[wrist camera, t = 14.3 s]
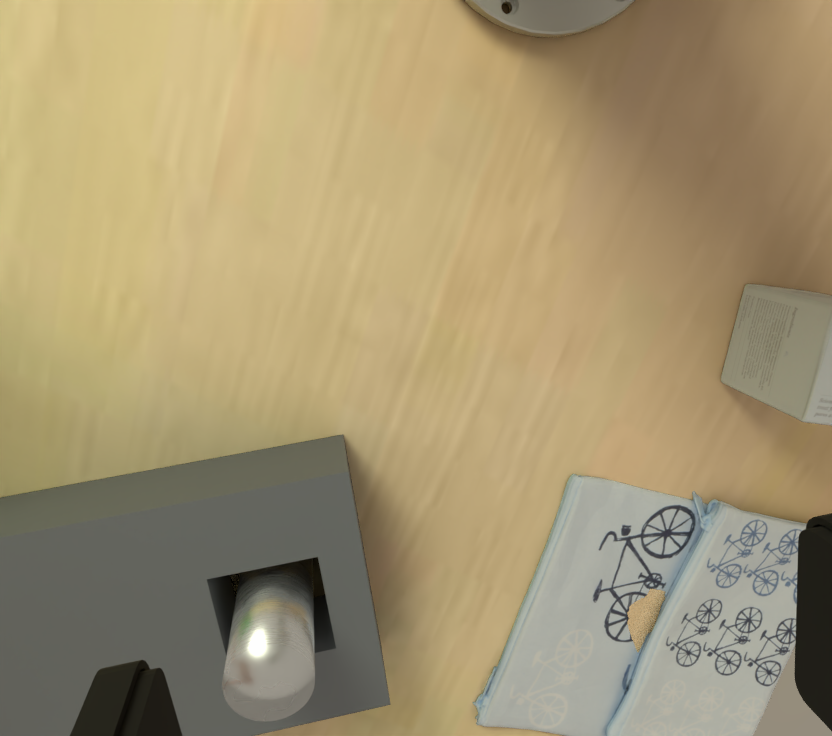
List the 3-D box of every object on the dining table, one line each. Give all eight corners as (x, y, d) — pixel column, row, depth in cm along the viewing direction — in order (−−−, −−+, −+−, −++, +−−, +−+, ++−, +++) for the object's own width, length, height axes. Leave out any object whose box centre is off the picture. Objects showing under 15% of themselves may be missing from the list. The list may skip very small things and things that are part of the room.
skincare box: (716, 382, 41) (800, 425, 34) (743, 281, 40) (837, 304, 33) (806, 391, 43) (905, 435, 36) (835, 293, 41) (945, 319, 34)
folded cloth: (720, 754, 50) (738, 779, 48) (462, 710, 46) (469, 735, 44) (837, 522, 46) (862, 539, 44) (567, 448, 42) (580, 462, 40)
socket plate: (343, 434, 39) (348, 471, 34) (380, 645, 43) (390, 704, 38) (-76, 511, 36) (-133, 563, 32) (6, 726, 40) (-34, 801, 36)
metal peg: (306, 524, 40) (306, 636, 30) (318, 584, 41) (322, 710, 31) (235, 538, 39) (212, 655, 30) (249, 598, 41) (232, 730, 31)
